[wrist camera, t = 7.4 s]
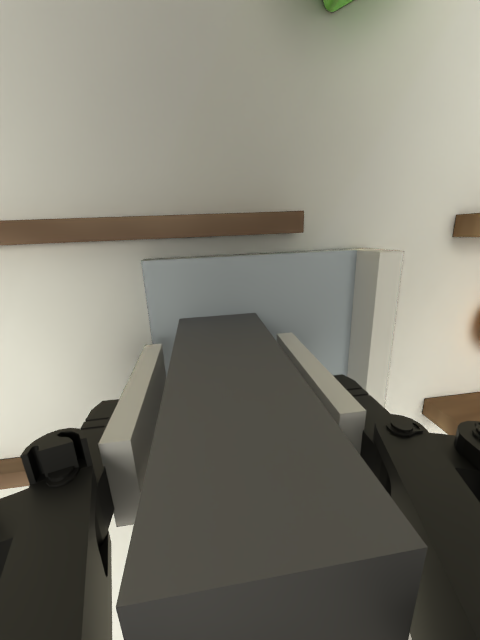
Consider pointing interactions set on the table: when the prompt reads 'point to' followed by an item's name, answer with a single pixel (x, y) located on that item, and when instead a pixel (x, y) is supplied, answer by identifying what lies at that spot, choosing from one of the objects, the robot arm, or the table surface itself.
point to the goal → (462, 406)
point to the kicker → (267, 457)
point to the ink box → (335, 4)
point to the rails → (133, 228)
